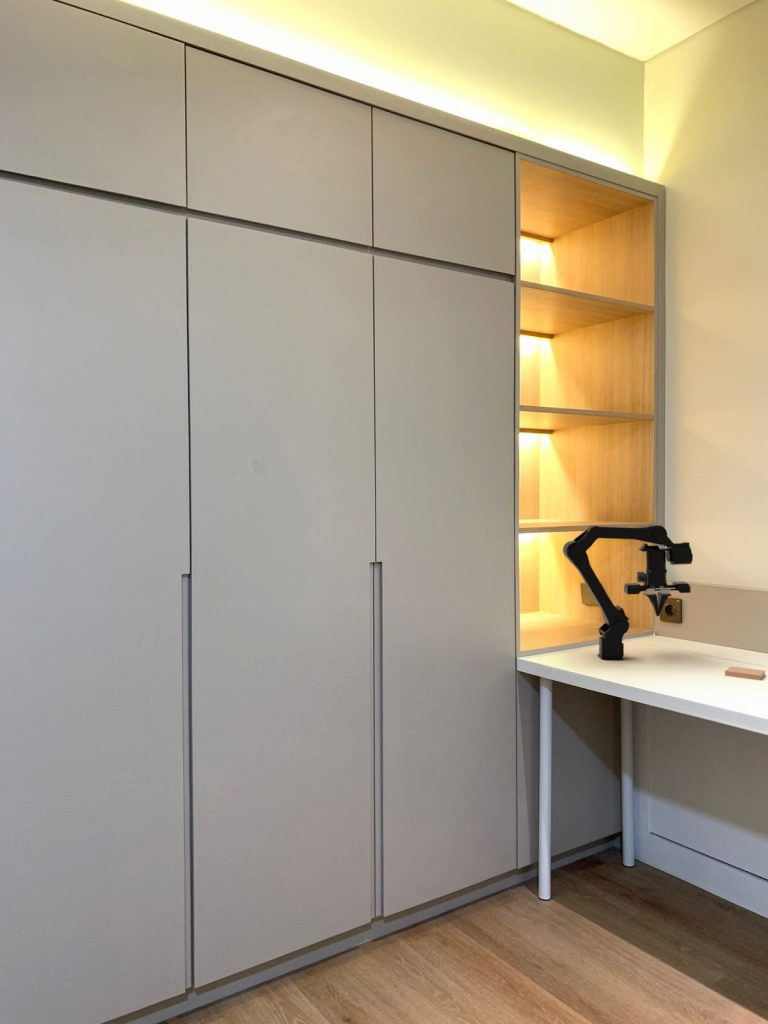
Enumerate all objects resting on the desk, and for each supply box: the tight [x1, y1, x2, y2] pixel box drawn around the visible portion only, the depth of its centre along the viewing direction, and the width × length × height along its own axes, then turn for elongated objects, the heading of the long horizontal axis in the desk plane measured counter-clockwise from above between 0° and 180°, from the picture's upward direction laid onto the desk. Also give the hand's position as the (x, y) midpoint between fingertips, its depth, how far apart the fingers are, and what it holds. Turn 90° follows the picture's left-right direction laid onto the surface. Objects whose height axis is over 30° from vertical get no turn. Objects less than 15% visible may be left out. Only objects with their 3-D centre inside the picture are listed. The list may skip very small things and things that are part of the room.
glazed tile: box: [724, 665, 766, 681], centre depth 217 cm, size 2×7×9 cm
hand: (657, 615), depth 238 cm, fingers closed
